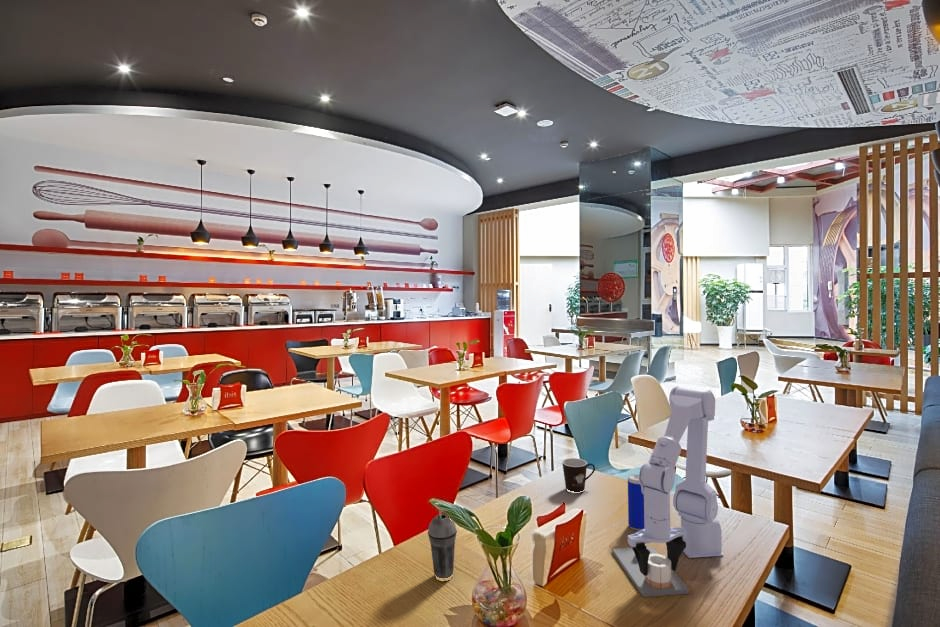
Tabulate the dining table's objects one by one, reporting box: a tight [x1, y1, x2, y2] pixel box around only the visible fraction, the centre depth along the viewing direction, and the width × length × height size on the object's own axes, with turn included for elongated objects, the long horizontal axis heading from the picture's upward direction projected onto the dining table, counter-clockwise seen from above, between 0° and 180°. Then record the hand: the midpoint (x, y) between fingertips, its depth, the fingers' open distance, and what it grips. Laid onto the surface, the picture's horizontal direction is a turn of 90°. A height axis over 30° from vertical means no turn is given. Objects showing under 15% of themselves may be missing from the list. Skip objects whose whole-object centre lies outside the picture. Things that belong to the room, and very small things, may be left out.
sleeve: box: [645, 553, 671, 588], centre depth 113 cm, size 6×6×5 cm
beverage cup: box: [427, 499, 458, 578], centre depth 118 cm, size 7×7×20 cm
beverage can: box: [627, 473, 645, 531], centre depth 141 cm, size 5×5×15 cm
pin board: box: [611, 545, 690, 598], centre depth 118 cm, size 19×11×4 cm, turn 4°
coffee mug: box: [561, 457, 596, 492], centre depth 168 cm, size 12×9×10 cm
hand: (657, 570), depth 113 cm, fingers open, 7 cm apart
